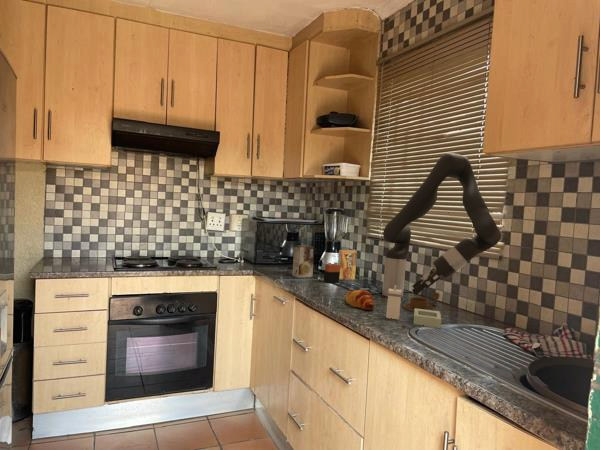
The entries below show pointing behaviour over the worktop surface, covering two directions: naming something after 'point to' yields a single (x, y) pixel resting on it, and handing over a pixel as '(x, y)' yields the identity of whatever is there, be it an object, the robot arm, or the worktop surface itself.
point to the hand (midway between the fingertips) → (413, 290)
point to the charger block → (393, 303)
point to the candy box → (347, 264)
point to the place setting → (421, 303)
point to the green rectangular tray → (427, 318)
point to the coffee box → (303, 261)
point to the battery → (332, 273)
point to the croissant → (360, 299)
